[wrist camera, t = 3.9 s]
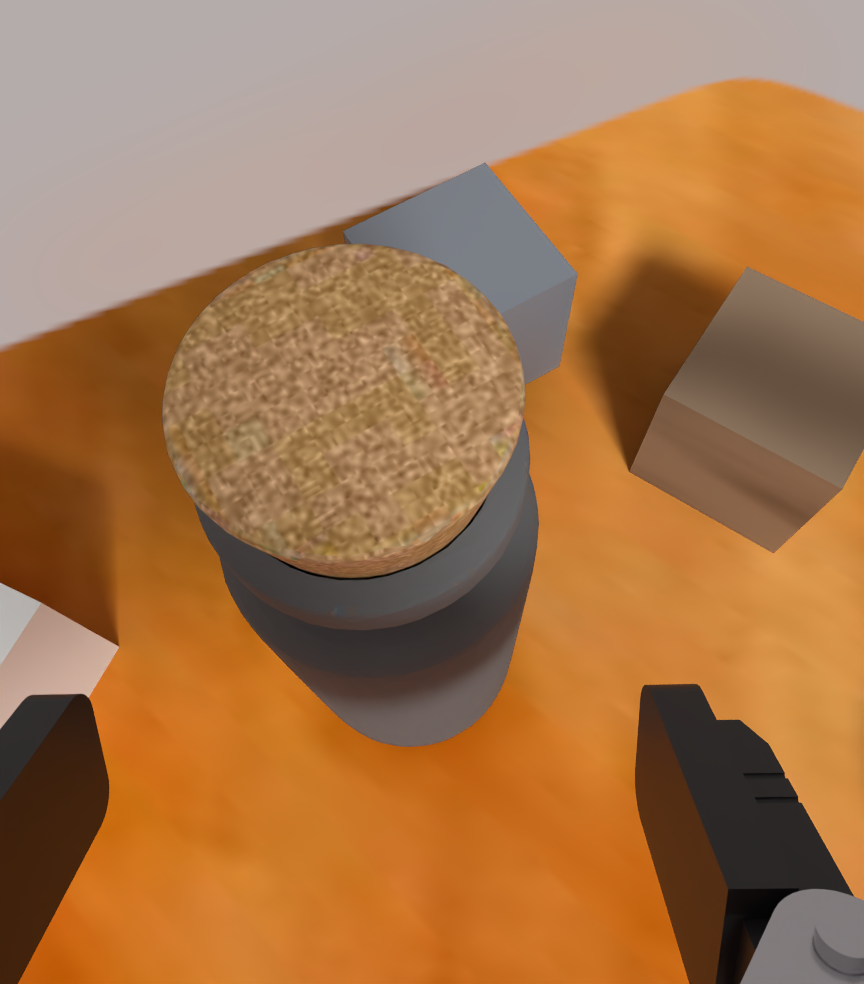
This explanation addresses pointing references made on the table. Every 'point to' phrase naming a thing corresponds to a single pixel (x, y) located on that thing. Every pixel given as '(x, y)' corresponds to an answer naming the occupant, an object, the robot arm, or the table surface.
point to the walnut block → (762, 413)
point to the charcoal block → (487, 257)
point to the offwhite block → (45, 652)
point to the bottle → (364, 479)
